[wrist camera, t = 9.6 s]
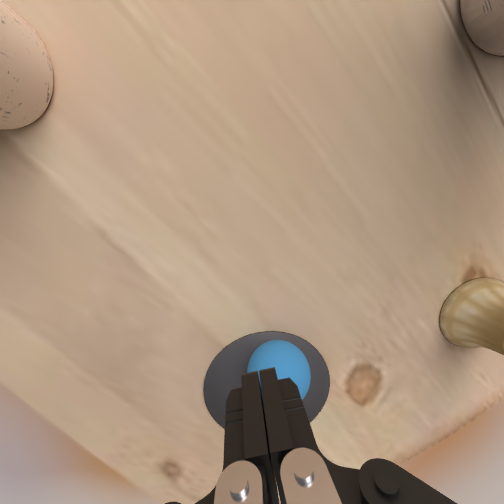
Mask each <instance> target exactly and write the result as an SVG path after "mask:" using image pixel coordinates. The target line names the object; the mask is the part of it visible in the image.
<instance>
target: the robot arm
mask: <svg viewBox="0 0 504 504" xmlns="http://www.w3.org/2000/svg"><path fill="white" fill-rule="evenodd" d="M460 4H461V15H462V19H463V23H464V26H465V28H466V30H467V32H468V35H469V37H470V38H471V39H472V40H473V42H474V43H475V44H476V45H477V46H478V47H480V48H481V49H482V50H484V51H485V52H488V53H491V54H494V55H502V56H504V0H460ZM259 375H260V379H259ZM241 380H242V387H241V388H236V389H232V390H231V391H230V393H229V395H228V397H227V400H226V415H225V439H224V465H223V471H222V473H221V475H220V477H219V479H218V482H217V485H216V486H215V488H214V489H213V490H212V491H211V492H210V493H209V494H208V495H207V496H206V497H204V498H203V499H201V500H200V501H198V502H197V503H195V504H279V498H278V491H279V496H280V501H281V504H457V503H455V502H454V501H452V500H451V499H449V498H448V497H446V496H444V495H443V494H441V493H440V492H438V491H437V490H435V489H433V488H432V487H430V486H429V485H427V484H426V483H424V482H423V481H421V480H420V479H418V478H416V477H415V476H413V475H412V474H410V473H409V472H407V471H406V470H404V469H403V468H401V467H399V466H398V465H396V464H395V463H393V462H391V461H388V460H385V459H379V458H376V459H371V460H368V461H366V462H365V463H364V464H363V465H362V467H361V469H360V470H359V469H352V468H346V467H341V466H338V465H335V464H334V463H332V462H330V461H329V460H327V459H326V458H325V457H324V456H323V455H322V453H321V452H320V450H319V449H318V447H317V444H316V441H315V438H314V435H313V432H312V429H311V426H310V423H309V420H308V417H307V414H306V411H305V408H304V405H303V402H302V399H301V396H300V393H299V389H298V386H297V385H296V384H295V383H294V382H293V381H292V380H291V379H290V377H289V378H284V379H279V380H278V378H277V374H276V370H275V367H272V368H268V369H263V370H259V374H258V371H253V372H249V373H244V374H241ZM260 382H261V384H260ZM276 482H277V484H276ZM277 486H278V491H277ZM165 504H181V503H178V502H168V503H165Z"/></svg>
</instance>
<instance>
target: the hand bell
mask: <svg viewBox="0 0 504 504" xmlns="http://www.w3.org/2000/svg"><path fill="white" fill-rule="evenodd" d="M439 320H440V321H439V323H440V329H441V331H442V333H443V335H444V336H445V338H446V339H447V340H448V341H450V342H451V343H453V344H455V345H457V346H461V347H467V348H476V347H485V348H488V349H491V350H493V351H496V352H498V353H500V354H502V355H504V283H502V282H501V281H499V280H496V279H493V278H478V279H474V280H470V281H468V282H466V283H464V284H462V285H461V286H459V287H458V288H457V289H455V290H454V291H453V292H452V293H451V294H450V295H449V297H448V298H447V299H446V301H445V303H444V304H443V307H442V309H441V312H440V319H439Z"/></svg>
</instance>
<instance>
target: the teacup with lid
mask: <svg viewBox="0 0 504 504" xmlns="http://www.w3.org/2000/svg"><path fill="white" fill-rule="evenodd" d="M52 92H53V70H52V65H51V62H50V59H49V56H48V53H47V51H46V49H45V47H44V45H43V43H42V41H41V40H40V38H39V37H38V35H37V34H36V33H35V31H34V30H33V29H32V28H31V27H30V25H29V24H28V23H27V22H26V21H25V20H24V19H23V18H21V17H20V16H19V15H18V14H17V13H15V12H14V11H13V10H12V9H11V8H9V7H8V6H7V5H6V4H5V3H3V2H2V1H1V0H0V129H16V128H21V127H24V126H27V125H29V124H31V123H32V122H34V121H35V120H37V119H38V118H39V117H40V116H41V115H42V114H43V112H44V111H45V110H46V108H47V106H48V104H49V102H50V99H51V96H52Z"/></svg>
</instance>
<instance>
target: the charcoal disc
mask: <svg viewBox="0 0 504 504" xmlns="http://www.w3.org/2000/svg"><path fill="white" fill-rule="evenodd" d="M271 340H284V341H287V342H290V343H292V344H293V345H295V346H296V347H298V348H299V349H300V350H301V351H302V353H303V354H304V356H305V357H306V359H307V361H308V364H309V367H310V373H311V380H310V386H309V389H308V392H307V394H306V396H305V397H304V399H303V400H302V402H303V405H304V408H305V411H306V414H307V417H308V420H309V423H310V422H311V421H312V420H313V419H314V418H315V417H316V416H317V415H318V413H319V412H320V411H321V409H322V407H323V406H324V404H325V402H326V399H327V397H328V393H329V387H330V376H329V371H328V368H327V365H326V363H325V361H324V359H323V357H322V355H321V354H320V353H319V352H318V350H317V349H316V348H315V347H314V346H312V345H311V344H310V343H309V342H307V341H306V340H304V339H302V338H300V337H298V336H295V335H292V334H289V333H284V332H277V331H265V332H258V333H254V334H250V335H247V336H244V337H242V338H239V339H238V340H236V341H234V342H232V343H231V344H229V345H228V346H226V347H225V348H224V349H223V350H222V351H221V352H220V353H219V354H218V355H217V356H216V357H215V359H214V360H213V362H212V363H211V365H210V367H209V369H208V371H207V374H206V378H205V383H204V398H205V403H206V405H207V408H208V410H209V412H210V414H211V416H212V417H213V418H214V419H215V421H216V422H217V423H218V424H219V425H220V426H222V427H223V428H224V429H225V415H226V400H227V397H228V395H229V393H230V391H231V390H232V389H236V388H241V387H242V380H241V374H244V373H247V368H248V363H249V360H250V358H251V356H252V354H253V353H254V351H255V350H256V349H257V348H258V347H259V346H260V345H262V344H263V343H265V342H268V341H271Z"/></svg>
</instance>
